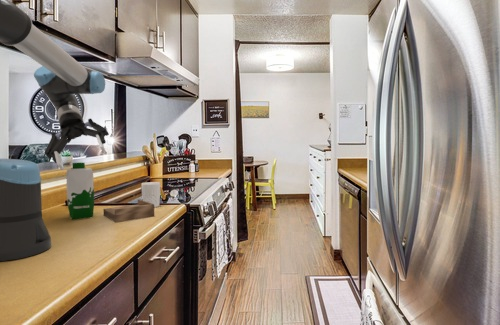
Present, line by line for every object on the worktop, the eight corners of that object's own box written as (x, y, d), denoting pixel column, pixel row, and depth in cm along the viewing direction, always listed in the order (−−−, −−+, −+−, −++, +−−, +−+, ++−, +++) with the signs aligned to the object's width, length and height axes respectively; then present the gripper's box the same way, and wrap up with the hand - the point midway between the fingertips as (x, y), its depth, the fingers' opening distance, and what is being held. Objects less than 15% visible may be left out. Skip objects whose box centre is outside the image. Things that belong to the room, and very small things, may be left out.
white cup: (155, 208, 135) (154, 184, 135) (138, 207, 137) (137, 184, 136) (164, 204, 143) (163, 182, 142) (147, 204, 144) (147, 182, 144)
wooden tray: (115, 222, 112) (115, 209, 112) (103, 215, 122) (103, 203, 122) (154, 216, 121) (154, 204, 121) (140, 210, 131) (139, 199, 131)
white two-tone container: (92, 213, 126) (90, 162, 125) (96, 217, 119) (94, 163, 118) (66, 216, 122) (64, 163, 120) (68, 221, 114) (66, 164, 113)
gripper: (109, 114, 123) (124, 150, 110) (40, 141, 116) (48, 181, 104) (100, 99, 117) (115, 134, 105) (28, 126, 110) (34, 167, 98)
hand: (82, 158), depth 104 cm, fingers open, 13 cm apart
